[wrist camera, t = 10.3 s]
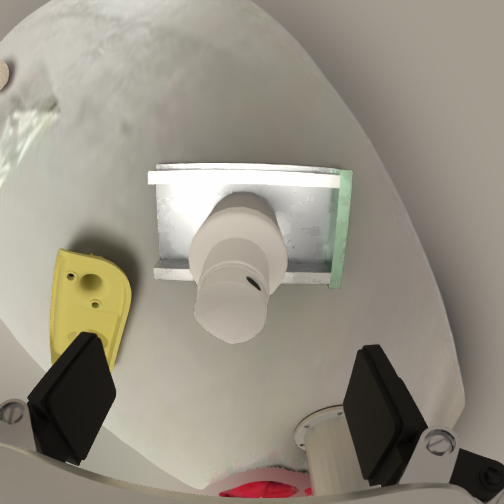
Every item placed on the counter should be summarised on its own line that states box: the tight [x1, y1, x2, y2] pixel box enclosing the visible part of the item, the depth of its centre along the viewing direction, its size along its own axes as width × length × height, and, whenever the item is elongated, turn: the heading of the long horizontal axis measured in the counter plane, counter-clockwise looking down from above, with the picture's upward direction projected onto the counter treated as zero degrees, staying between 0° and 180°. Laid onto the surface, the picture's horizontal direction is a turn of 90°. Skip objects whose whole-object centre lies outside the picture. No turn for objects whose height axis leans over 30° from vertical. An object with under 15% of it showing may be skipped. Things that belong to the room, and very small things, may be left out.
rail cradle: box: [148, 163, 353, 289], centre depth 30 cm, size 12×19×4 cm, turn 88°
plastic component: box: [50, 249, 131, 372], centre depth 33 cm, size 20×7×10 cm
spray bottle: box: [188, 192, 288, 344], centre depth 22 cm, size 7×7×18 cm
